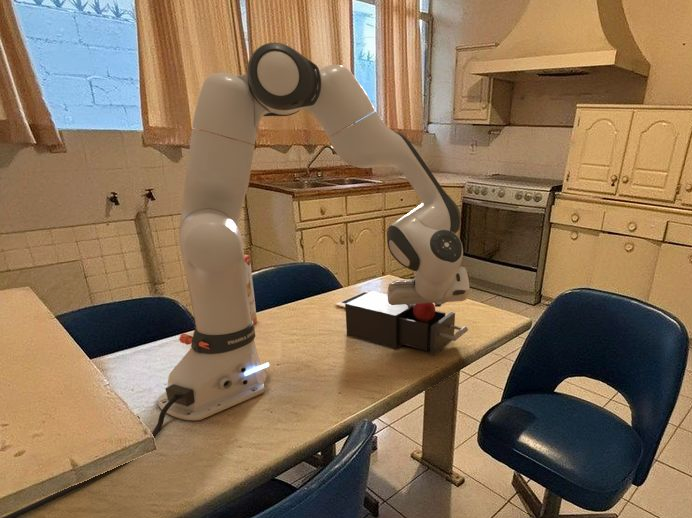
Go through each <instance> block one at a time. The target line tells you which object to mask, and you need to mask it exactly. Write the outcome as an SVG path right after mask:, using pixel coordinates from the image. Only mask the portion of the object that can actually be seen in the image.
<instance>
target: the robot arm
mask: <svg viewBox="0 0 692 518" xmlns="http://www.w3.org/2000/svg"><path fill="white" fill-rule="evenodd" d="M246 67H247V68H246V72H245V73H244V74H239V75H237V74H234V73H230V72H214V73H211V74H209V75H208V76H207V77H206V78H205V79H204V81H203V83H202V86H201V89H200V92H199V95H198V98H197V102H196V106H195V110H194V115H193V121H192V129H191V135H190V142H189V150H188V151H189V152H188V159H187V167H186V175H185V182H184V187H183V188H184V190H183V196H182V203H181V210H180V218H179V225H178V226H179V227H178V244H179V250H180V253H181V254H180V255H181V260H182V265H183V268H184V273H185V279H186V282H187V288H188V292H189V297H190V303H191V308H192V313H193V318H194V324H195V328H194V330H193V334H192V335H190V334H188V333H182V334H180V335H179V337H178V340H179V342H180V343H181V344H185V345H187V346H188V345H190V346H191V348H190V349H189V350H188V351H187V352H186V354H185V355H184V356H183V357H182V358H181V360H179V362H178V363H177V364H176V365H175V366H174V368H173V369H172V370H171V371H170V373H169V375H168V378H167V387H165V392H164V393H162V394H161V395H159V396H158V398H157V404H158V407H159V408H160V410H161V411H160V413H159V416H158V420H157V423H156V426H155V427H154V429H153V431H152V433H151V434H153V436H154V439H155V438H156V437H157V435H158V434H159V433H160V430H161V428H162V427H163V425H164V421H165V416H166V414H167V415H169V416H171V417H174V418H177V419H180V420H185V421H202V420H204V419H206V418H208V417H210V416H213V415H215V414H218V413H220V412H223V411H224V410H227V409H230V408H231V407H234V406H236V405H239V404H240V403H243V402H246V401H247V400H250V399H252V398H255V397H257V396H260V395H261V394H264V393H265V391H266V389H265V388H266V387H265V382H266V381H267V374H266V372H265V370H264V369H266V368H268V367H270V363H269V362H266V363H263V364H262V363H261V360H260V357H259V354H258V350H257V347H256V341H255V338H256V331H255V325H254V324H253V321H252V320H251V317H250V309H249V302H248V295H247V286H246V270H245V259H244V255H245V251H244V241H243V236H242V232H241V231H240V228H239V225H240V224H239V223H240V218H241V214H242V209H243V205H244V202H245V198H246V194H247V191H248V189H249V184H250V178H251V172H252V165H253V159H254V152H255V146H256V140H257V132H258V129H259V124H260V122H261V120H262V118H263V117H289V116H293V115H295V114H297V113H299V112H300V111H306V112H308V113H309V114H310V115H312V116H313V117H314V118H315V119H316V120H317V122H318V123H319V124H320V126H321V128H322V129H323V132H324V134H325V135H326V137H327V138H328V141H329V142H330V144H331V146H332V148H333V149H334V151H335V153H336V154H337V155H338V157H339V158H340V159H341V160H342V161H343V162H344V163H346V164H347V165H349V166H351V167H354V168H359V169H372V168H379V167H392V168H394V169H397V170H398V171H399V172H401V173H402V175H403V176H404V178H405V179H406V180H407V181H408V183H409V184H410V186H411V187H412V189H413V190H414V191H415V193H416V194H417V195H418V197H419V198H420V204H419V205H418V206H416V207H415V208H413V209H412V210H410V211H409V212H408V213H407V214H405V215H403V216H401V217H400V218H399V219H397V220H396V221H395V222H393V223H392V224H390V225H389V226H388V228H387V231H386V242H387V243H386V244H387V248H388V250H389V253H390V254H391V256H392V257H393V258H394V259H395V261H396V262H398V263H399V264H400V265H401V266H403V267H404V268H406V269H408V270H409V271H413V272H415V274H414V277H413V278H414V279H413V278H407V279H405V278H404V279H395V280H393V281H392V282H390V283H389V284H388V288H387V293H386V294H387V296H388V303H389V304H391V305H403V304H406V305H407V306H408V308H414V304H421V303H433V304H434V306H435V308H440V307H442V305H444V304H446V303H455V302H464V301H467V300H468V299H469V296H470V291H471V290H470V288H471V287H470V280H469V276H468V272H467V268H466V267H464V266H461V265H462V262H463V258H464V248H463V243H462V241H461V238H460V237H459V236H458V235H457V233H458V232H459V230H460V228H461V227H460V226H461V220H462V219H461V218H462V215H461V210H460V208H459V206H458V205H457V203H456V202H455V201H454V199H453V198H452V197H451V196H450V195H449V194H447V192H446V191H445V190H444V188H443V187H442V186H441V184H440V183H439V182H438V180H437V178H436V177H435V176H434V174H433V173H432V171H431V170H430V168H429V167H428V166H427V164H426V162H425V161H424V159H423V158H422V157H421V155H420V154H419V152H418V150H416V148H415V147H414V146H413V144H412V142H411V141H410V140H409V139H408V138H407V137H406V136H405V135H404V134H403V133H401V132H399V131H394V130H392V129H391V128H390V127H389V126H388V125H387V124H385V122H384V121H383V120H382V119H381V118H380V116H379V114H378V112H377V110H376V108H375V106H374V104H373V103H372V101H371V98H369V96H368V94H367V93H366V91H365V89H364V87H362V85H361V84H360V82H359V81H358V79H357V78H356V76H355V75H353V73H352V71H351V70H350V69H349V68H347V66H344V65H341V64H329V65H326V66H324V67H322V68H319V66H318V65H317V64H316V63H314V62H313V61H311V60H310V59H308V58H307V57H306V56H304V55H303V54H302V53H300V52H299V51H298V50H296V49H295V48H293V47H291V46H289V45H287V44H284V43H281V42H268V43H265V44H262V45H260V46H259V47H257V48H256V49H255V50H254V51H253V53H252V54H251V56H250V58H249V60H248V63H247V66H246ZM119 467H120V466H118V467H116V468H114V469H112V470H110V471H107V472H105V473H103V474H100V475H98V476H95V477H93V478H91V479H89V480H87V481H84V482H82V483H79V484H77V485H74V486H71V485H70V486H71V487H69V486H68V487H69V488H67V487H66V488H67V489H65V488H63V489H64V490H63V489H61V490H62V491H61V490H59V491H60V492H59V491H56V492H57V493H56V492H54V493H55V494H54V493H52V494H53V495H52V494H50V495H48V496H46V497H44V498H41V499H40V500H37V501H35V502H33V503H31V504H29V505H27V506H25V507H22V508H20V509H18V510H16V511H14V512H11V513H9V514H7V515H5V516H2V517H1V518H18V517H21V516H24V515H26V514H28V513H31V512H32V511H34V510H36V509H38V508H40V507H42V506H45V505H47V504H49V503H51V502H53V501H56V500H57V499H60V498H61V497H63V496H65V495H68V494H69V493H72V492H73V491H76V490H78V489H80V488H82V487H85V485H88V484H89V483H91V482H93V481H95V480H97V479H99V478H101V477H102V476H104V475H106V474H109V473H110V472H112V471H114V470H116V469H117V468H119Z"/></svg>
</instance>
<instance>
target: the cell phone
mask: <svg viewBox="0 0 692 518" xmlns="http://www.w3.org/2000/svg"><path fill="white" fill-rule="evenodd" d="M369 292H370V291H369V290H366V291H362V292H360V293H358V294H355V295H353V296H351V297H349V298H346V299H344V300H341V301H339V302H337V303H335V306H336V307H340V308H344V309H345V304H346V303H348V302H350V301H352V300H354V299H357V298H359V297H361V296H363V295H365V294H367V293H369Z"/></svg>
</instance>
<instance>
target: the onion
mask: <svg viewBox="0 0 692 518" xmlns="http://www.w3.org/2000/svg"><path fill="white" fill-rule="evenodd" d="M435 310H436V307H435V303H421V304H415V305H414V309H413V314H414V316H415V318H416V319H417V320H419V321H420V322H423V323H427V322H428V321H430V320H431V319H432V318H433V317H434V315H435Z"/></svg>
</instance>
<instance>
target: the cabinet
mask: <svg viewBox="0 0 692 518" xmlns="http://www.w3.org/2000/svg"><path fill="white" fill-rule="evenodd" d="M414 305H415V304H414ZM344 309H345V322H346V323H345V326H346V337H350V338H354V339H358V340H361V341H364V342H367V343H372V344H375V345H379V346H383V347H387V348H391V349H394V350H397V349H399V348H400V347H402V346H403V344H400V343H398V323H397V318H398V317H399V316H401V315H403V314H404V313H406V312H408V311H409V310H411V309H413V308H408V306H407V305H406V304H403V305H391V304H389V303H388V296H387V293H382V292H378V291H374V290H373V291H369V293H367V294H365V295H363V296H361V297H359V298H357V299H354V300H352V301H350V302H348V303H346V304H345V308H344Z"/></svg>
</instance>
